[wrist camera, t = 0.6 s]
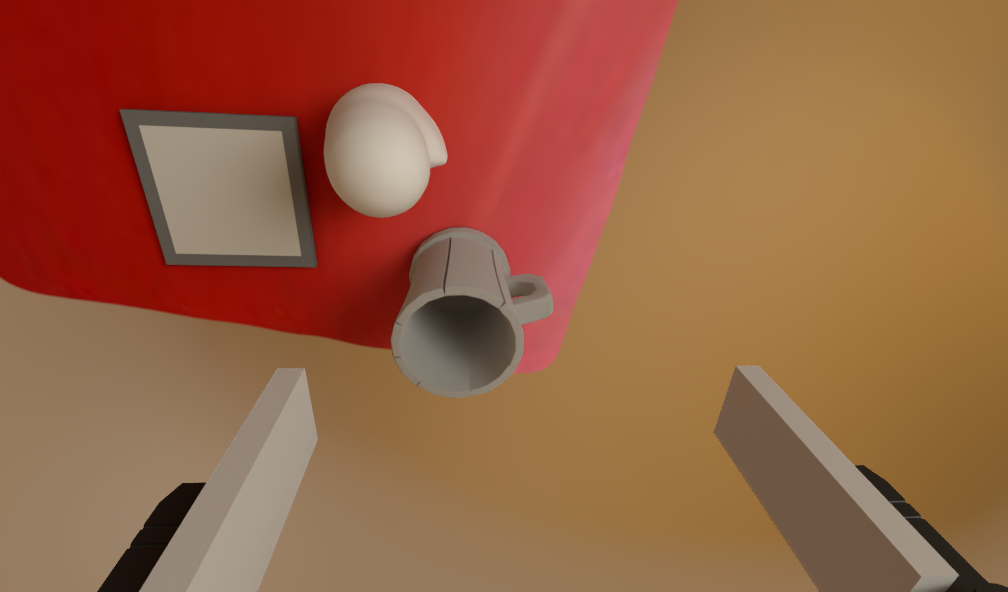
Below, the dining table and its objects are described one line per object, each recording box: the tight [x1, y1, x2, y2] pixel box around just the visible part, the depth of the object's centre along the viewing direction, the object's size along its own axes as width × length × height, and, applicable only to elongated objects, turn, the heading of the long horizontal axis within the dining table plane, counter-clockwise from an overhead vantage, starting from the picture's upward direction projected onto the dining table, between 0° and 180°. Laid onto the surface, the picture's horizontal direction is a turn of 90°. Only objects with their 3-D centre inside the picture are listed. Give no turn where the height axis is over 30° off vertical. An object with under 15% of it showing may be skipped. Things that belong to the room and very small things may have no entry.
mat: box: [120, 109, 317, 267], centre depth 36 cm, size 12×12×1 cm
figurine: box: [324, 83, 447, 218], centre depth 30 cm, size 7×8×12 cm
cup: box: [390, 227, 554, 398], centre depth 36 cm, size 10×9×12 cm
